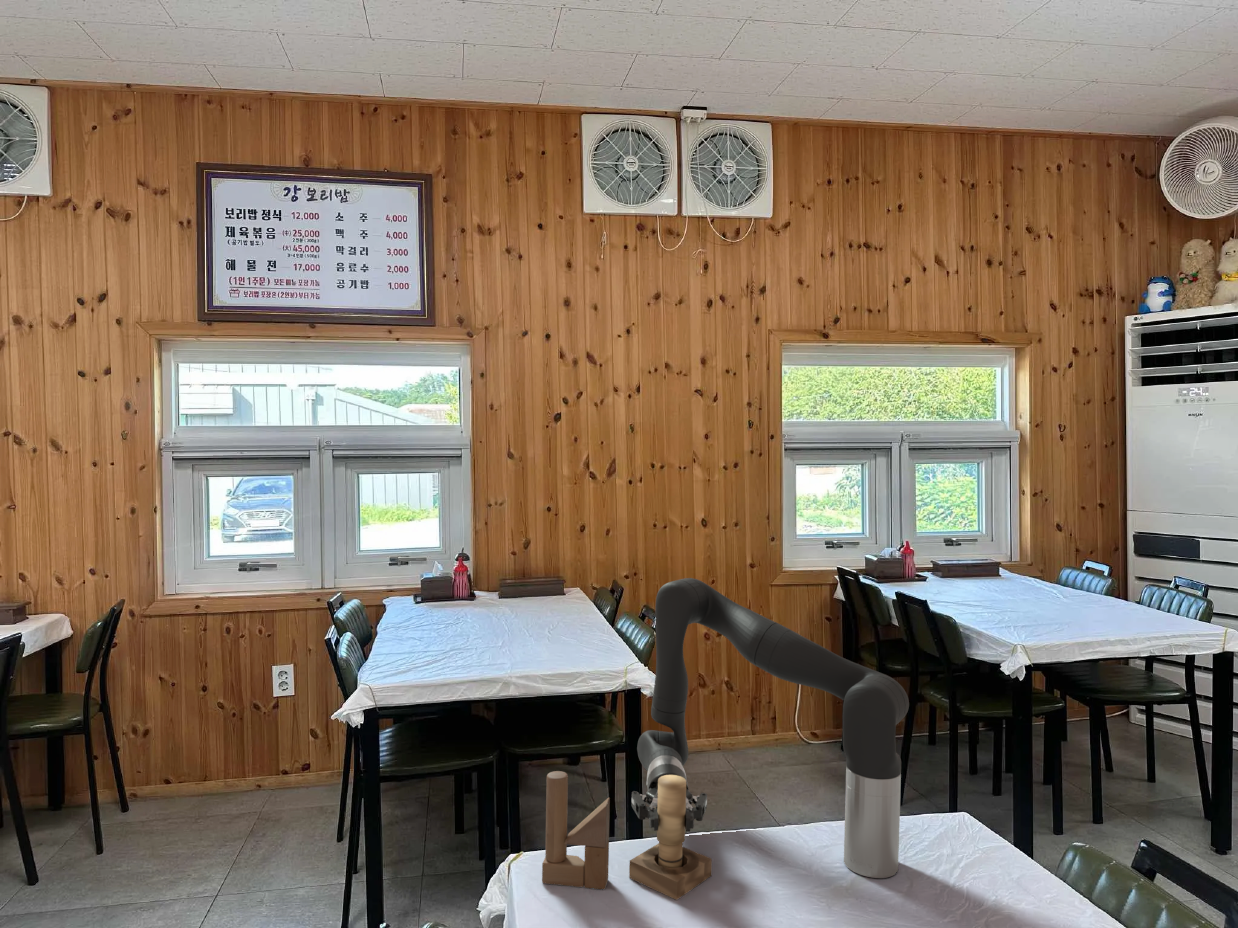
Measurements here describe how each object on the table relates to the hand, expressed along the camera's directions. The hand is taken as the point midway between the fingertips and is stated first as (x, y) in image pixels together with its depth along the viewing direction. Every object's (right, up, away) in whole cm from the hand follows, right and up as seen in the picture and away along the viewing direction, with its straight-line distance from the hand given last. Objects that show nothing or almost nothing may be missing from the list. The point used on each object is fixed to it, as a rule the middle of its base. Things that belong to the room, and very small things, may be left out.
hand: (672, 825), depth 137 cm
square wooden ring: (0, -10, +3) cm, 11 cm away
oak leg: (0, -9, +3) cm, 10 cm away
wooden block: (-16, -10, +1) cm, 19 cm away
